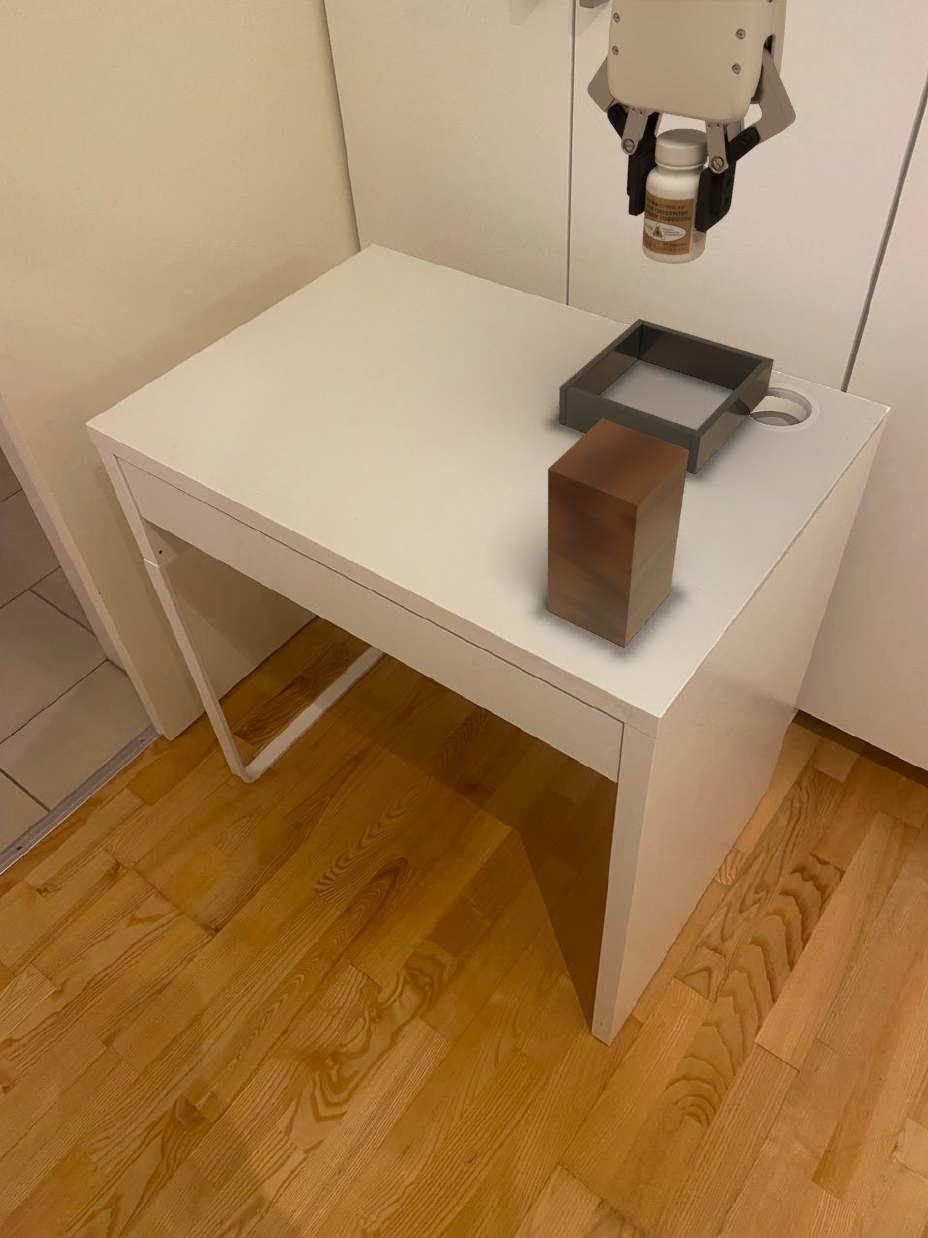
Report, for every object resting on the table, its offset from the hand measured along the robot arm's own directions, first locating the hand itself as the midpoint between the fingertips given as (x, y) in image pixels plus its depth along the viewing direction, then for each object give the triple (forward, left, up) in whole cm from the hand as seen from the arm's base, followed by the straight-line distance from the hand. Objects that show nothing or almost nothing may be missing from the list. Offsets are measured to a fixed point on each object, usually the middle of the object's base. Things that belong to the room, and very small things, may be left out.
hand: (676, 213), depth 66 cm
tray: (+1, -13, -25) cm, 28 cm away
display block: (+1, +14, -25) cm, 28 cm away
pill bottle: (0, 0, -3) cm, 3 cm away
